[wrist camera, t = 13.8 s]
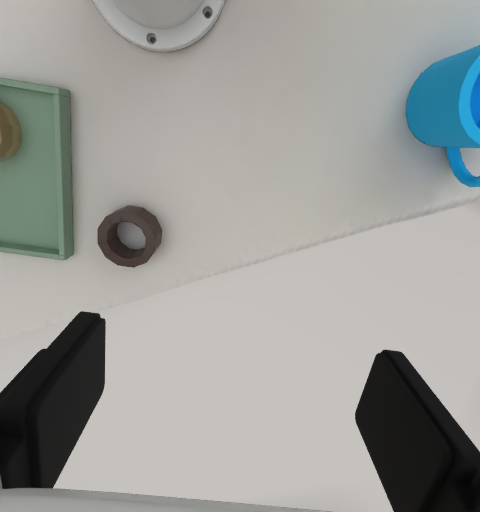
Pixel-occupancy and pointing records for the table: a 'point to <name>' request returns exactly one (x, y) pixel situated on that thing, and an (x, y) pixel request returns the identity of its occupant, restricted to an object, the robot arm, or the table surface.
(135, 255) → the walnut ring
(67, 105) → the tray
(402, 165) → the table surface
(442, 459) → the robot arm
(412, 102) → the mug
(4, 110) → the birch ring
